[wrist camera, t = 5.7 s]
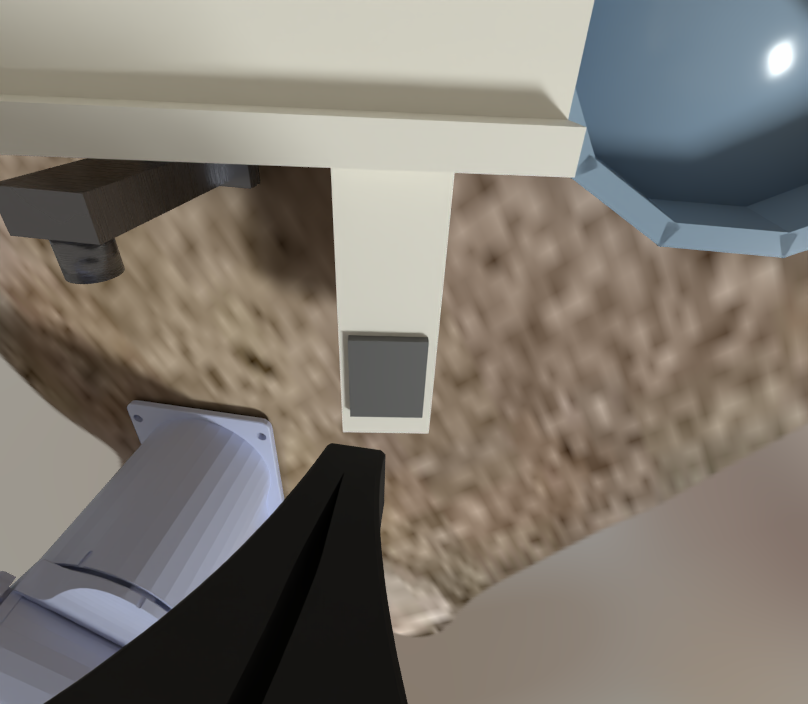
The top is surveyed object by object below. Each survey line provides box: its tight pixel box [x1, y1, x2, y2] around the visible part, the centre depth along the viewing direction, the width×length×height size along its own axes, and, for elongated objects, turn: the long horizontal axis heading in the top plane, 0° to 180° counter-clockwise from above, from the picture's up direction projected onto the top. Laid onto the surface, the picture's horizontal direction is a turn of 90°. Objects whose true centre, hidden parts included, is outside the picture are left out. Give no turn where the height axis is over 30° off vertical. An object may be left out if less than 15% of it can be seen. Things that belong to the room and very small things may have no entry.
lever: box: [0, 0, 594, 433], centre depth 10 cm, size 17×24×3 cm
